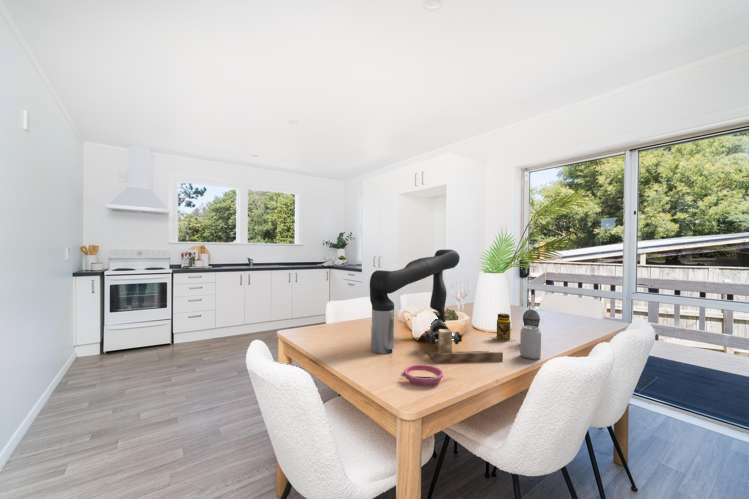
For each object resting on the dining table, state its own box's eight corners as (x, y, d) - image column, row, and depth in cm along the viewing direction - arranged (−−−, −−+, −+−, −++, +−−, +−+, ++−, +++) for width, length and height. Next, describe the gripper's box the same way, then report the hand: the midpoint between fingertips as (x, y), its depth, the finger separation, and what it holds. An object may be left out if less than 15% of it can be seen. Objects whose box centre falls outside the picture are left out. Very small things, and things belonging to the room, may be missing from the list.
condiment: (503, 342, 151) (503, 316, 151) (489, 337, 159) (490, 312, 159) (514, 340, 154) (515, 315, 154) (501, 336, 162) (501, 311, 162)
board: (434, 367, 117) (434, 354, 117) (425, 356, 129) (425, 344, 129) (502, 365, 120) (502, 352, 120) (487, 354, 132) (487, 343, 132)
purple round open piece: (396, 381, 105) (396, 371, 105) (417, 370, 114) (417, 361, 114) (430, 392, 97) (430, 382, 97) (449, 380, 107) (449, 370, 107)
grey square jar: (544, 360, 126) (545, 329, 126) (525, 359, 127) (525, 329, 127) (535, 354, 134) (535, 324, 134) (517, 353, 134) (517, 324, 134)
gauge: (440, 360, 120) (441, 333, 120) (438, 354, 126) (438, 329, 126) (452, 361, 120) (453, 333, 120) (449, 355, 126) (450, 329, 126)
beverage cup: (542, 346, 145) (543, 301, 145) (526, 346, 145) (527, 301, 145) (535, 341, 152) (535, 298, 152) (519, 341, 152) (520, 298, 152)
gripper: (422, 321, 140) (426, 331, 124) (456, 322, 139) (464, 332, 123) (422, 339, 140) (426, 350, 124) (456, 340, 139) (464, 352, 123)
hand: (445, 341), depth 123 cm, fingers open, 8 cm apart
